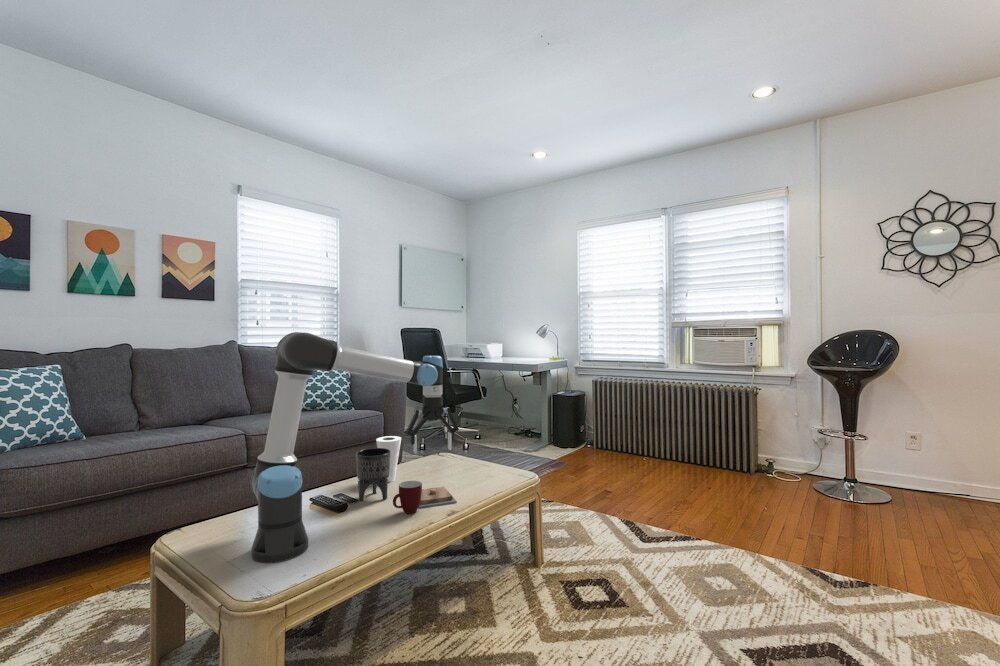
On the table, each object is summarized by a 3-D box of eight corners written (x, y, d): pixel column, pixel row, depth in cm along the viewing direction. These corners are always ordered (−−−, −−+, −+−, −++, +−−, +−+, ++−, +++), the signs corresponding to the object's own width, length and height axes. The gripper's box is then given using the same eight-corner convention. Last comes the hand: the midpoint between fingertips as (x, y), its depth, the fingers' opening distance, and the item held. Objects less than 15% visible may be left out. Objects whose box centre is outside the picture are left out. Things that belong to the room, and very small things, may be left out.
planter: (365, 506, 170) (364, 458, 170) (350, 497, 180) (350, 451, 180) (396, 498, 178) (396, 452, 178) (381, 489, 188) (380, 446, 188)
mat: (419, 508, 168) (419, 506, 168) (410, 494, 183) (410, 492, 183) (456, 502, 173) (456, 501, 173) (444, 489, 188) (444, 488, 188)
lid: (421, 504, 170) (421, 496, 170) (414, 494, 181) (414, 486, 181) (452, 499, 175) (452, 492, 175) (443, 489, 186) (443, 483, 186)
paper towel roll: (371, 481, 199) (370, 439, 199) (390, 475, 207) (389, 435, 207) (387, 486, 193) (387, 442, 193) (406, 479, 201) (406, 438, 201)
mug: (400, 520, 157) (400, 491, 157) (388, 514, 163) (388, 485, 163) (426, 512, 164) (426, 484, 164) (413, 506, 170) (413, 479, 170)
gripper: (402, 398, 170) (402, 456, 170) (466, 395, 179) (466, 450, 179) (398, 396, 177) (398, 451, 177) (460, 393, 186) (460, 445, 186)
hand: (432, 451), depth 178 cm, fingers open, 13 cm apart
